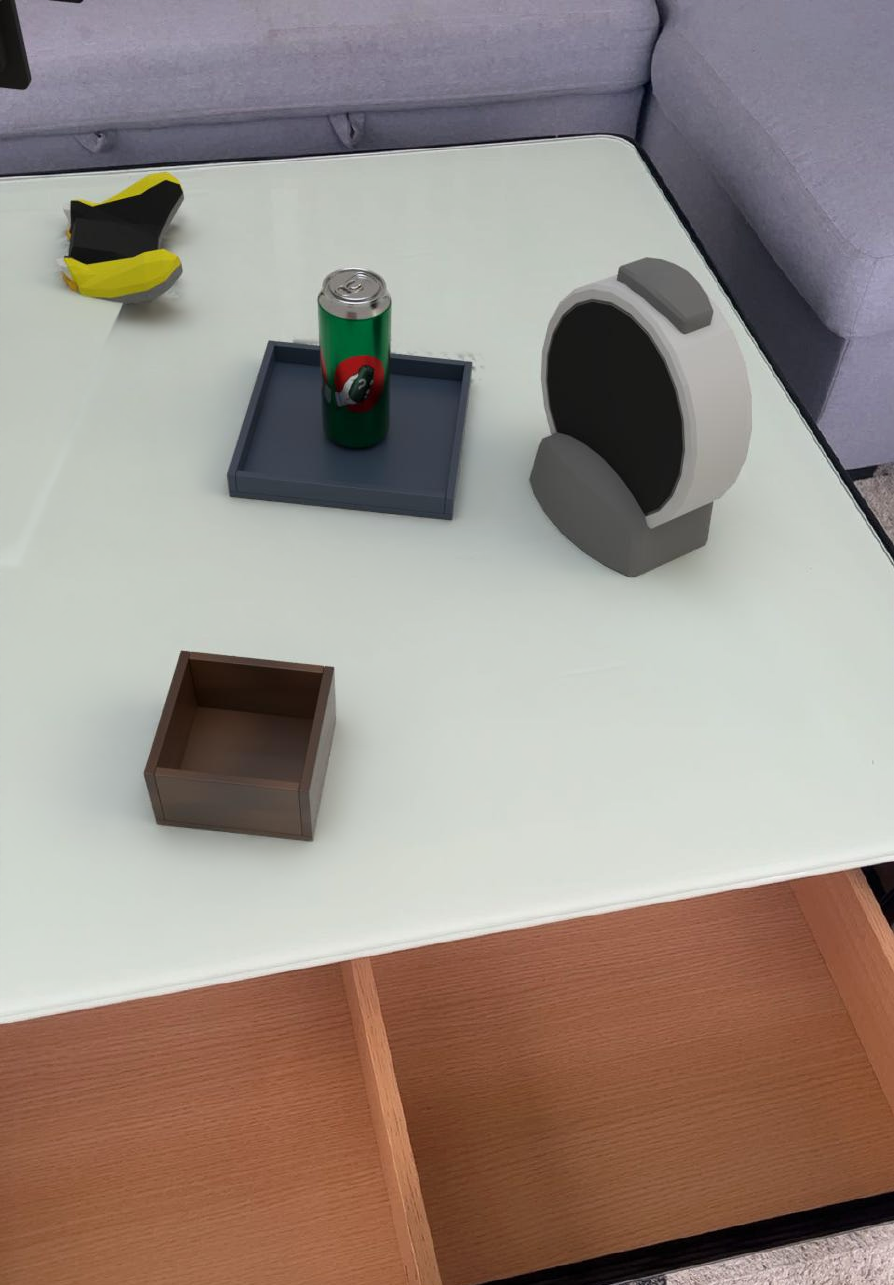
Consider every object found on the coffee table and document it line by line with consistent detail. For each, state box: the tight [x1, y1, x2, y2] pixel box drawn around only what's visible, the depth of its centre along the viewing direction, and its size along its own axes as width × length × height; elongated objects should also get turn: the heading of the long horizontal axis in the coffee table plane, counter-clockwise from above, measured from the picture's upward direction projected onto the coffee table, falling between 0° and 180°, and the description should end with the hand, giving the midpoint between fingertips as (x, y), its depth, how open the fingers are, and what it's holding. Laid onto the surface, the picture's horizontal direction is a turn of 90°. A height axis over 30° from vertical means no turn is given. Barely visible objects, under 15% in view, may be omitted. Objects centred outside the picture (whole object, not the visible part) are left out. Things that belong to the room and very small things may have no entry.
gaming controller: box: [55, 171, 185, 305], centre depth 98 cm, size 15×6×10 cm
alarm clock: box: [529, 256, 753, 578], centre depth 79 cm, size 16×10×18 cm, turn 33°
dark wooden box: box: [143, 650, 337, 842], centre depth 69 cm, size 9×9×5 cm
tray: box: [226, 339, 473, 521], centre depth 89 cm, size 16×16×2 cm
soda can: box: [316, 267, 393, 449], centre depth 85 cm, size 5×5×12 cm
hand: (29, 39), depth 60 cm, fingers open, 9 cm apart
